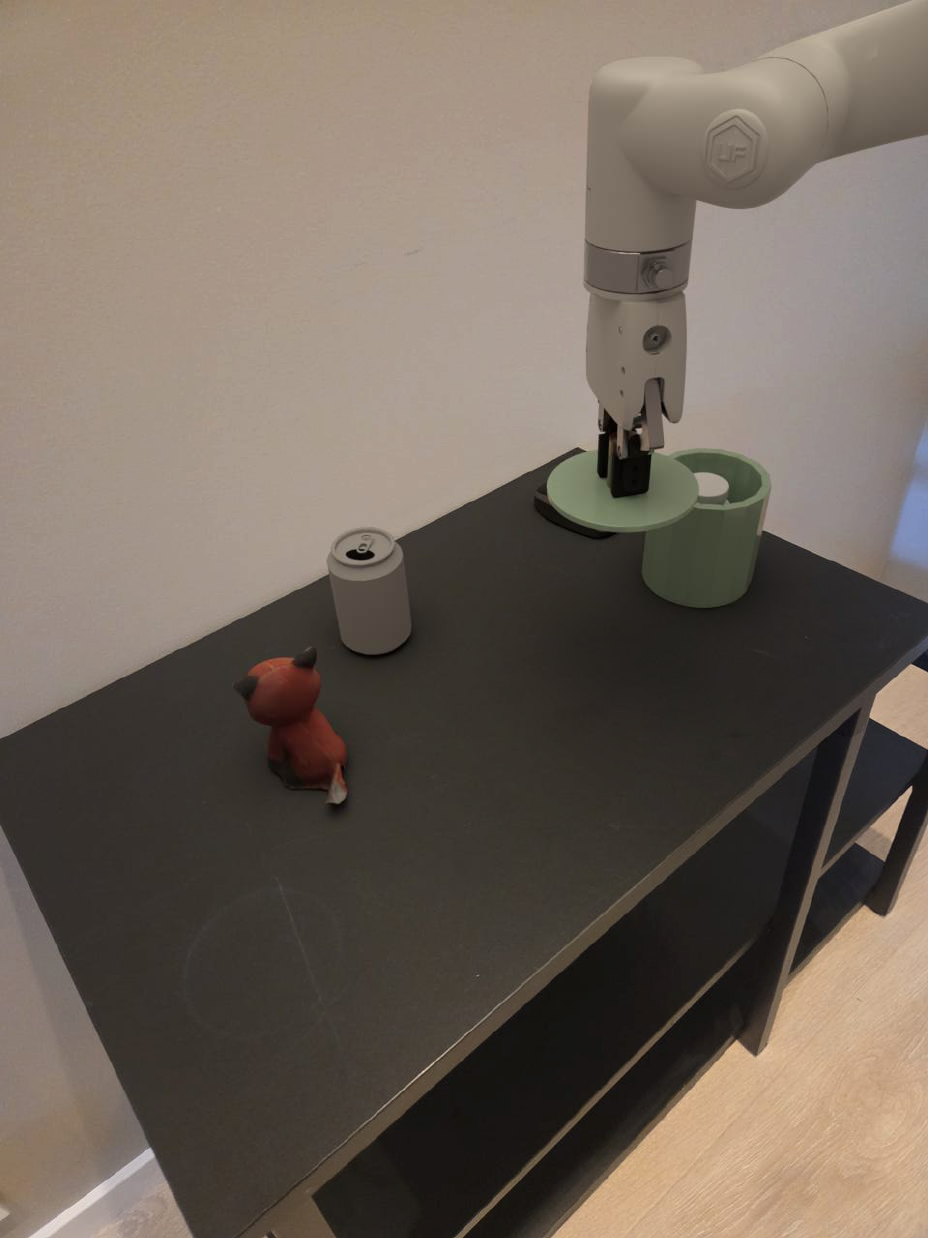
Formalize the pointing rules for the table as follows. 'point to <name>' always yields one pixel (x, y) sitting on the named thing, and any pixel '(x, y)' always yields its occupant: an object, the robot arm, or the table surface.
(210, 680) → the table surface
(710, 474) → the pill bottle
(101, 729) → the table surface
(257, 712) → the stuffed fox
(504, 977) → the table surface
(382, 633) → the can
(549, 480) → the lid
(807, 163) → the robot arm
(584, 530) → the computer mouse
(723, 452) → the pot
